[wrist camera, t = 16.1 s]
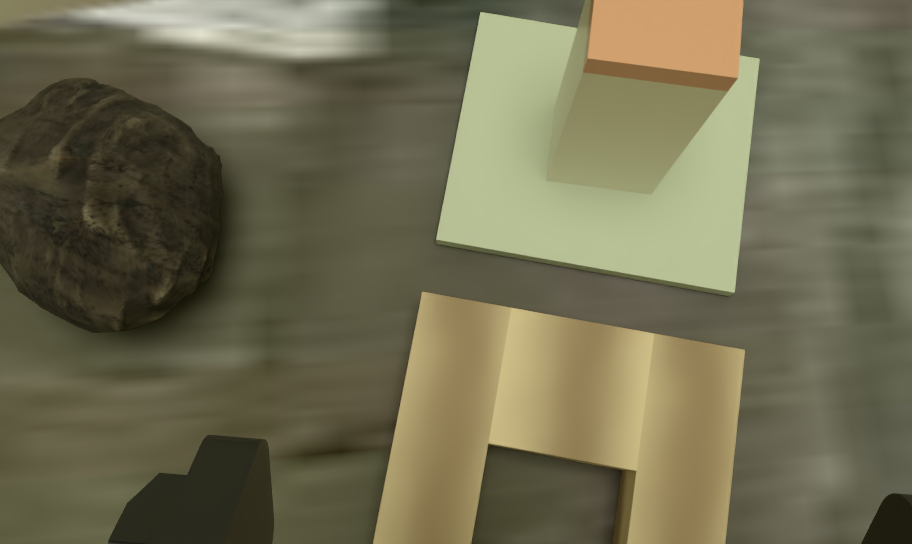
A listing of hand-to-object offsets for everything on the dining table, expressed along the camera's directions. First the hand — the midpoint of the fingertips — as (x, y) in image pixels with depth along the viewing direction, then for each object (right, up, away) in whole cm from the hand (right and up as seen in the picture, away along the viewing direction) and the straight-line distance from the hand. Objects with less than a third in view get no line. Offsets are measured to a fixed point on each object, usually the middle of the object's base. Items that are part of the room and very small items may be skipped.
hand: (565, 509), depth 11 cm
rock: (-17, +5, +28) cm, 33 cm away
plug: (+6, +9, +28) cm, 30 cm away
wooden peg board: (+2, -8, +25) cm, 26 cm away
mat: (+6, +9, +29) cm, 31 cm away
